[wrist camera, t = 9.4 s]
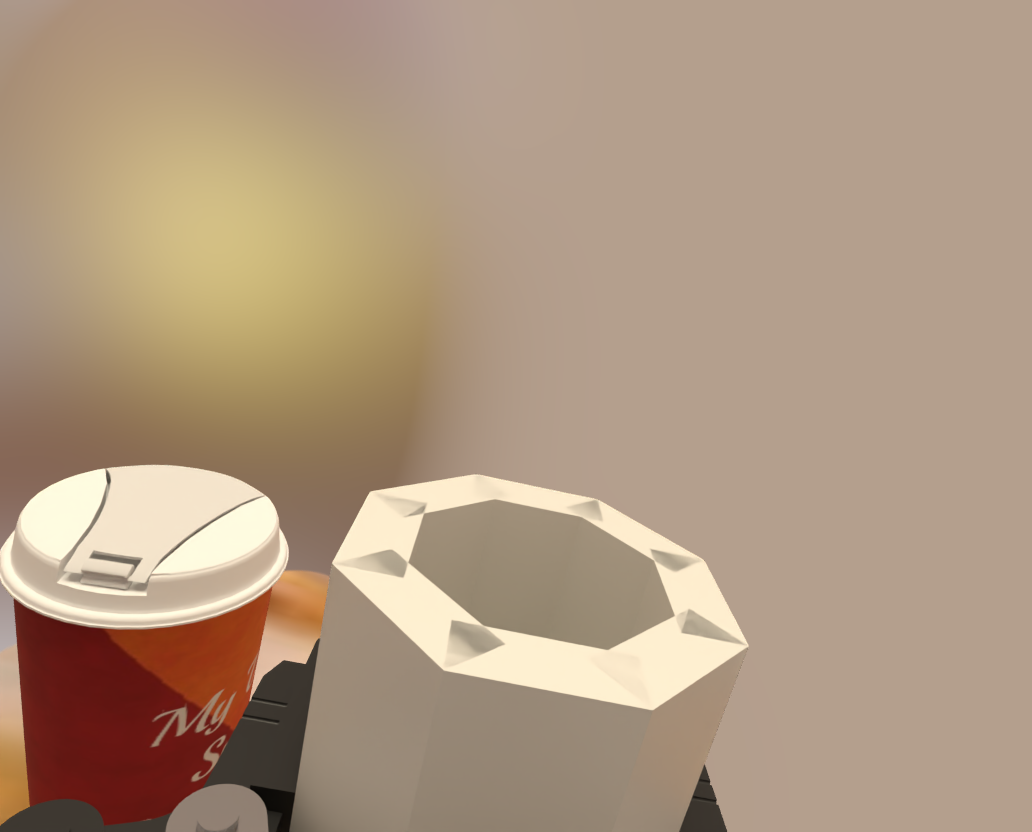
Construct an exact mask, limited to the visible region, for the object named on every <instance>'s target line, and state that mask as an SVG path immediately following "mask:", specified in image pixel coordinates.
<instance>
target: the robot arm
mask: <svg viewBox="0 0 1032 832" xmlns="http://www.w3.org/2000/svg"><path fill="white" fill-rule="evenodd" d="M319 642H320V639H318V640H317V641H316V643H315V645H314V648H313V650H312V652H311V654H310V656H309V658H308V661H307V663H306V664H301V663H296V662H291V661H285V660H284V661H282V662H281V663H280V664H278V665H277V666H276V667H275V668H273V669H272V670H271V671H269V672H268V673H267V674H265V675H264V676H263V678H262V680H261V681H260V683H259V685H258V687H257V689H256V691H255V693H254V694H253V696H252V699H251V701H250V702H249V704H248V705H247V707H246V709H245V711H244V713H243V716H242V719H241V718H240V720H239V722H238V724H237V726H236V728H235V730H234V731H233V733H232V735H231V737H230V739H229V741H228V743H227V744H226V746H225V748H224V750H223V752H222V754H221V756H220V757H219V759H218V761H217V763H216V765H215V767H214V769H213V770H212V772H211V774H210V776H209V778H208V780H207V782H206V783H205V785H204V786H203V788H202V789H200V790H198V791H196V792H194V793H192V794H191V795H189V796H188V797H186V798H185V799H184V800H183V801H182V802H180V803H179V804H178V806H177V807H176V808H175V809H174V811H173V812H172V813H169V814H167V815H164V816H162V817H158V818H155V819H151V820H145V821H139V822H130V823H122V824H114V825H106V826H104V823H103V819H102V817H101V815H100V813H99V812H98V810H97V809H95V808H94V807H93V806H92V805H90V804H88V803H86V802H83V801H79V800H72V799H58V800H51V801H47V802H43V803H39V804H36V805H34V806H31V807H28V808H27V809H25V810H23V811H21V812H19V813H17V814H15V815H14V816H12V817H11V818H9V819H8V820H7V821H6V822H4V823H3V824H2V825H1V826H0V832H289V830H290V824H291V818H292V811H293V805H294V799H295V793H296V786H297V780H298V774H299V768H300V761H301V755H302V749H303V742H304V736H305V730H306V724H307V717H308V711H309V705H310V698H311V692H312V686H313V680H314V673H315V667H316V661H317V655H318V648H319ZM679 832H727V830H726V827H725V824H724V821H723V818H722V815H721V812H720V809H719V806H718V805H716V797H715V794H714V791H713V788H712V786H711V785H710V779H709V776H708V773H707V770H706V767H705V764H704V767H703V769H702V772H701V775H700V777H699V780H698V783H697V785H696V788H695V791H694V793H693V796H692V799H691V801H690V804H689V807H688V809H687V812H686V815H685V817H684V820H683V823H682V825H681V828H680V831H679Z"/></svg>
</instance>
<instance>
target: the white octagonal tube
mask: <svg viewBox="0 0 1032 832" xmlns="http://www.w3.org/2000/svg"><path fill="white" fill-rule="evenodd" d="M748 647H749V645H748V644H747V642H746V640H745V638H744V636H743V634H742V632H741V630H740V628H739V626H738V624H737V622H736V620H735V619H734V617H733V615H732V613H731V611H730V609H729V607H728V605H727V603H726V601H725V599H724V598H723V596H722V594H721V592H720V590H719V588H718V586H717V584H716V582H715V580H714V578H713V576H712V574H711V573H710V571H709V569H708V567H707V565H706V563H705V561H704V560H703V559H701V558H700V557H698V556H696V555H694V554H693V553H691V552H689V551H687V550H686V549H684V548H682V547H680V546H678V545H677V544H675V543H673V542H671V541H670V540H668V539H666V538H664V537H662V536H661V535H659V534H657V533H655V532H654V531H652V530H650V529H649V528H647V527H645V526H643V525H641V524H640V523H638V522H636V521H634V520H632V519H631V518H629V517H627V516H626V515H624V514H622V513H620V512H619V511H617V510H615V509H613V508H612V507H610V506H608V505H606V504H604V503H603V502H601V501H599V500H597V499H593V498H588V497H583V496H578V495H574V494H568V493H564V492H559V491H554V490H550V489H545V488H539V487H535V486H530V485H526V484H521V483H516V482H511V481H506V480H502V479H497V478H492V477H487V476H482V475H477V474H475V475H469V476H463V477H457V478H451V479H445V480H438V481H433V482H426V483H420V484H414V485H408V486H402V487H396V488H389V489H383V490H377V491H372V492H370V493H369V495H368V497H367V499H366V500H365V502H364V504H363V506H362V508H361V510H360V512H359V514H358V515H357V517H356V520H355V521H354V523H353V525H352V527H351V529H350V531H349V532H348V535H347V537H346V538H345V540H344V542H343V544H342V546H341V548H340V549H339V551H338V553H337V555H336V557H335V559H334V561H333V563H332V567H331V573H330V579H329V586H328V592H327V598H326V604H325V611H324V617H323V623H322V629H321V636H320V642H319V648H318V655H317V661H316V667H315V673H314V680H313V686H312V692H311V698H310V705H309V711H308V717H307V724H306V730H305V736H304V742H303V749H302V755H301V761H300V768H299V774H298V780H297V786H296V793H295V799H294V805H293V811H292V818H291V824H290V830H289V832H679V831H680V828H681V825H682V823H683V820H684V817H685V815H686V812H687V809H688V807H689V804H690V801H691V799H692V796H693V793H694V791H695V788H696V785H697V783H698V780H699V777H700V775H701V772H702V769H703V767H704V764H705V761H706V759H707V756H708V753H709V751H710V748H711V745H712V743H713V740H714V737H715V735H716V732H717V730H718V727H719V724H720V721H721V719H722V716H723V714H724V711H725V708H726V706H727V703H728V700H729V698H730V695H731V692H732V690H733V687H734V684H735V681H736V679H737V676H738V674H739V671H740V668H741V666H742V663H743V660H744V658H745V655H746V652H747V650H748Z"/></svg>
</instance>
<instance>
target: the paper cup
mask: <svg viewBox="0 0 1032 832" xmlns="http://www.w3.org/2000/svg"><path fill="white" fill-rule="evenodd" d="M287 561H288V546H287V542H286V539H285V537H284V534H283V533H282V532H281V530H280V528H279V518H278V515H277V512H276V509H275V508H274V505H273V504H272V502H271V501H270V499H269V498H268V497H267V496H265V495H264V494H263V493H261V492H259V491H258V490H256V489H255V488H253V487H251V486H250V485H248V484H246V483H244V482H242V481H240V480H238V479H235V478H233V477H230V476H227V475H224V474H220V473H217V472H212V471H207V470H202V469H196V468H188V467H181V466H169V465H142V466H126V467H115V468H107V469H106V473H105V469H99V470H95V471H91V472H86V473H83V474H79V475H76V476H73V477H70V478H67V479H64V480H62V481H60V482H57V483H55V484H53V485H51V486H49V487H48V488H46V489H44V490H43V491H41V492H39V493H38V494H37V495H36V496H35V497H34V498H32V499H31V500H30V501H29V503H28V504H27V505H26V507H25V508H24V509H23V511H22V512H21V514H20V516H19V519H18V522H17V525H16V529H15V531H14V532H13V533H12V534H11V535H10V537H9V538H8V540H7V541H6V542H5V544H4V545H3V547H2V548H1V551H0V581H1V583H2V586H3V587H4V588H5V589H6V591H7V592H8V593H9V594H10V595H11V596H12V597H13V598H14V609H15V622H16V635H17V648H18V661H19V674H20V688H21V701H22V714H23V727H24V740H25V752H26V765H27V777H28V789H29V801H30V807H31V806H34V805H36V804H39V803H43V802H47V801H51V800H58V799H72V800H79V801H83V802H86V803H88V804H90V805H92V806H93V807H94V808H95V809H97V810H98V812H99V813H100V815H101V817H102V819H103V823H104V826H106V825H114V824H122V823H130V822H139V821H145V820H151V819H155V818H158V817H162V816H164V815H167V814H169V813H172V812H173V811H174V809H175V808H176V807H177V806H178V804H179V803H180V802H182V801H183V800H184V799H185V798H186V797H188V796H189V795H191V794H192V793H194V792H196V791H198V790H200V789H202V788H203V786H204V785H205V783H206V782H207V780H208V778H209V776H210V774H211V772H212V770H213V769H214V767H215V765H216V763H217V761H218V759H219V757H220V756H221V754H222V752H223V750H224V748H225V746H226V744H227V743H228V741H229V739H230V737H231V735H232V733H233V731H234V730H235V728H236V726H237V724H238V722H239V720H240V718H241V719H242V716H243V713H244V711H245V709H246V707H247V705H248V704H249V699H250V694H251V689H252V684H253V680H254V675H255V670H256V665H257V660H258V655H259V650H260V645H261V640H262V635H263V630H264V625H265V620H266V616H267V611H268V606H269V601H270V596H271V591H272V586H273V585H274V584H275V583H276V582H277V581H278V580H279V578H280V577H281V575H282V574H283V572H284V571H285V568H286V565H287Z"/></svg>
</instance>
